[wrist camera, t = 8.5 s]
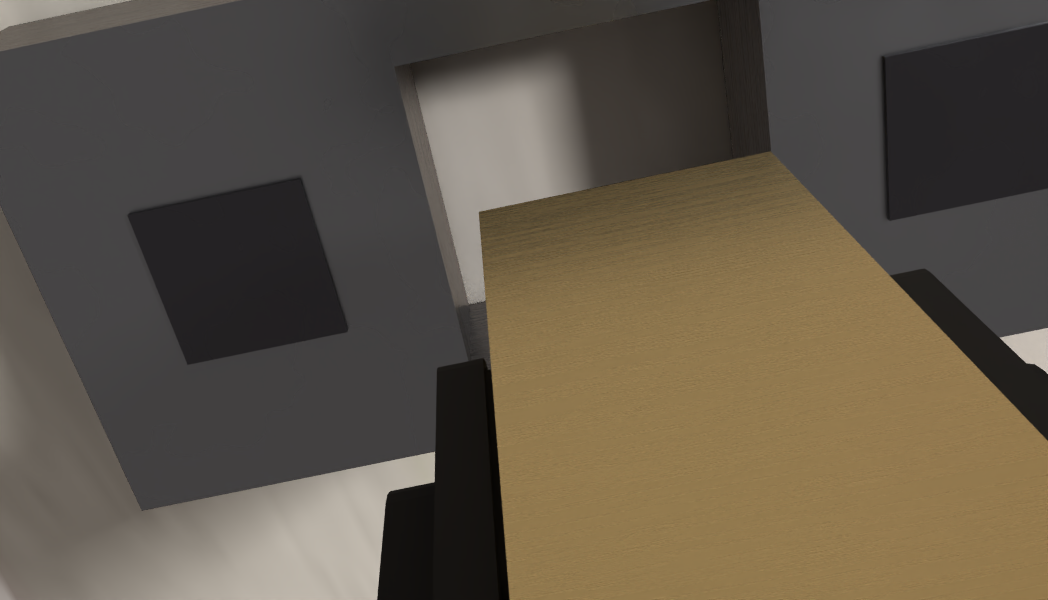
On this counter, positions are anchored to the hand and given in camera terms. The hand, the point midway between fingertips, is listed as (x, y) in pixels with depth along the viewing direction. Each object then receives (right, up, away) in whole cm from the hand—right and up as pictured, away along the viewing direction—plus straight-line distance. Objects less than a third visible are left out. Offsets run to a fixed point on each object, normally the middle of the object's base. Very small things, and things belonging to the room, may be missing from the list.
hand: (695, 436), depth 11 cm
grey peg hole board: (-1, +5, +9) cm, 10 cm away
